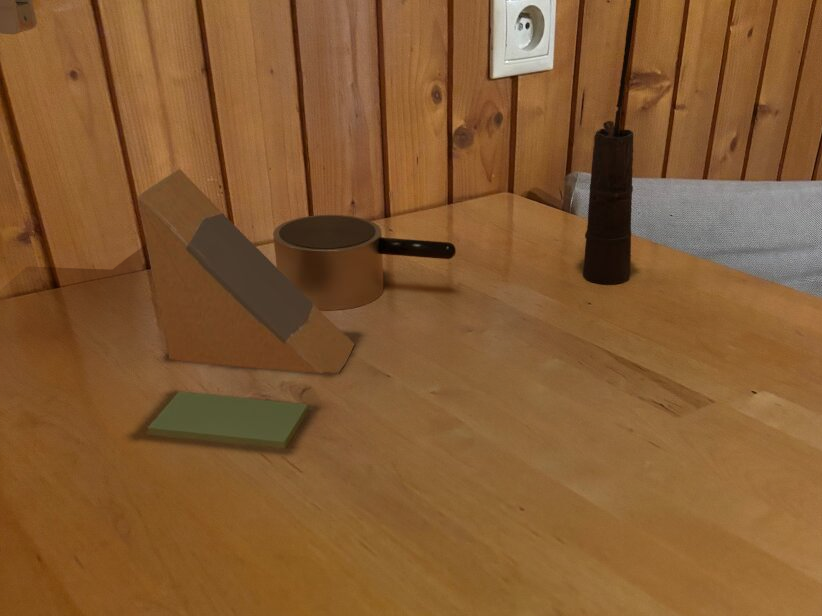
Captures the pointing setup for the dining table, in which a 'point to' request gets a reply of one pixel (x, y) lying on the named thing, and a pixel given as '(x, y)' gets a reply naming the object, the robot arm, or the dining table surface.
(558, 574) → the dining table surface
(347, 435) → the dining table surface
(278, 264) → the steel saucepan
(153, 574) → the dining table surface
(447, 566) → the dining table surface
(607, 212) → the butter churn
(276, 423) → the green rectangular slab
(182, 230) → the sandwich container
